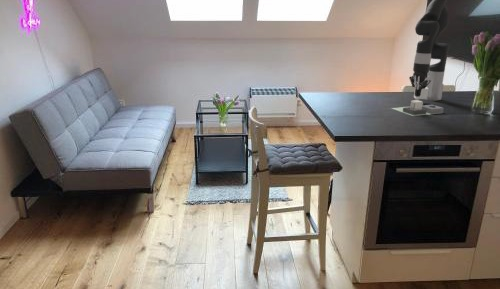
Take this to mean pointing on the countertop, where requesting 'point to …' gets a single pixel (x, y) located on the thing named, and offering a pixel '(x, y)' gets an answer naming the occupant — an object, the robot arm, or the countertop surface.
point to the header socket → (414, 111)
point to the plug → (416, 105)
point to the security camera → (422, 94)
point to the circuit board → (429, 109)
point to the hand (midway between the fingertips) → (417, 96)
